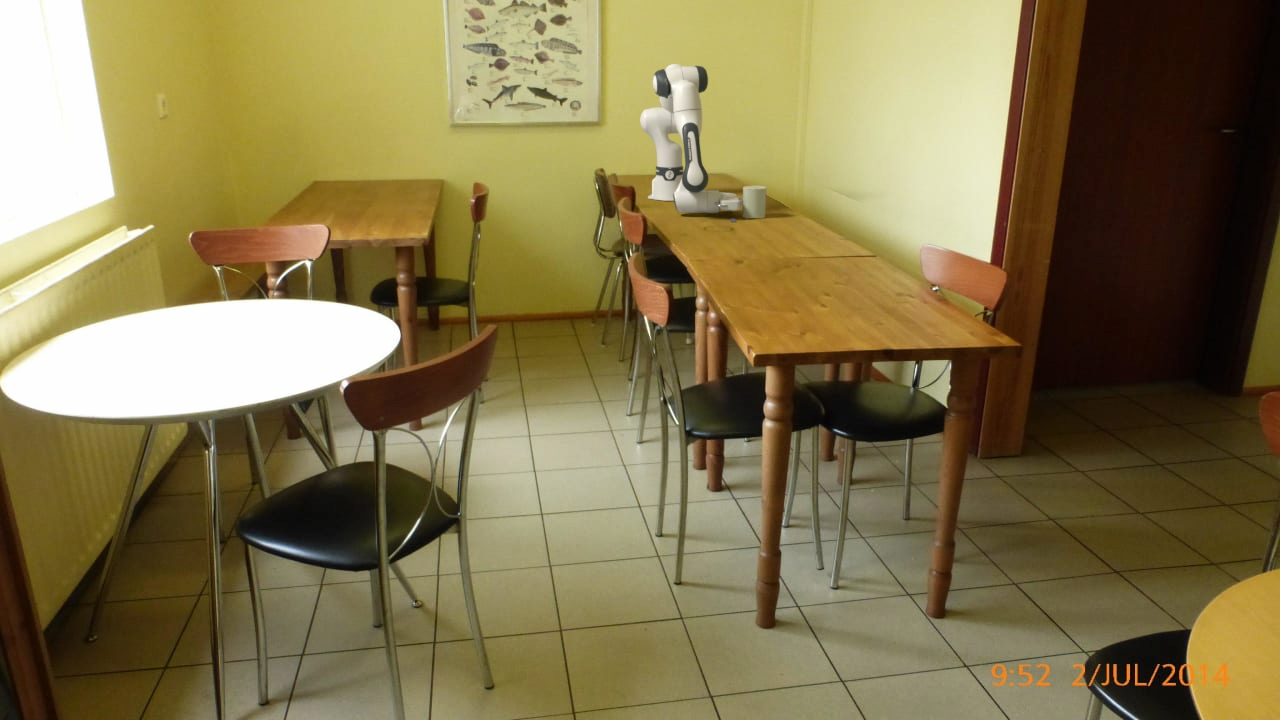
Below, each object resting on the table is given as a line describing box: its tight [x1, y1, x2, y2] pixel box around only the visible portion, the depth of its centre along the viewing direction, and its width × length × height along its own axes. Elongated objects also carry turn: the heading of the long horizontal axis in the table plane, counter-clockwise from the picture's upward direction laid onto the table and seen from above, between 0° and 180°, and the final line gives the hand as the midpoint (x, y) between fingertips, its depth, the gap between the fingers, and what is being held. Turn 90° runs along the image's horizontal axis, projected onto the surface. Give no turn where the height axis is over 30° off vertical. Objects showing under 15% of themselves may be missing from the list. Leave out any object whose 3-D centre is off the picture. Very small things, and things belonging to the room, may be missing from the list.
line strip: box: [729, 217, 737, 223], centre depth 360 cm, size 8×2×1 cm, turn 179°
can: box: [741, 185, 767, 219], centre depth 366 cm, size 9×9×12 cm
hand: (749, 201), depth 368 cm, fingers closed
